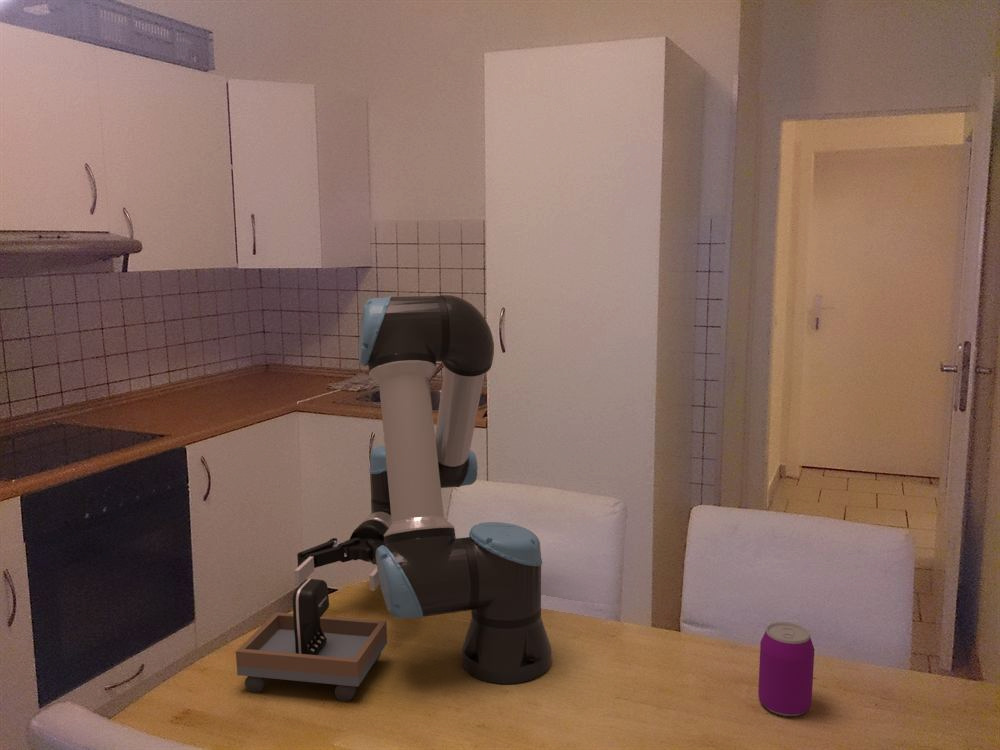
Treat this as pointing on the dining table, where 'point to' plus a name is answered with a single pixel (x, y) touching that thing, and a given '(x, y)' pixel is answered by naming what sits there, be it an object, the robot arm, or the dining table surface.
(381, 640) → the tray
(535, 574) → the robot arm
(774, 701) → the beverage can
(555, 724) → the dining table surface
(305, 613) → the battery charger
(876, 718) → the dining table surface
